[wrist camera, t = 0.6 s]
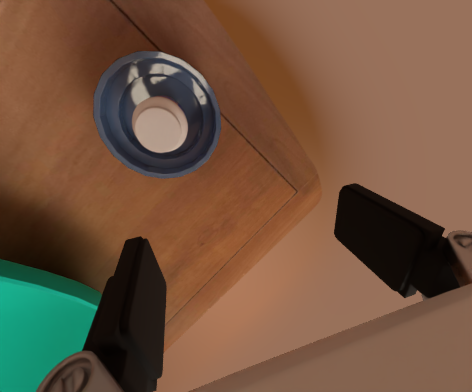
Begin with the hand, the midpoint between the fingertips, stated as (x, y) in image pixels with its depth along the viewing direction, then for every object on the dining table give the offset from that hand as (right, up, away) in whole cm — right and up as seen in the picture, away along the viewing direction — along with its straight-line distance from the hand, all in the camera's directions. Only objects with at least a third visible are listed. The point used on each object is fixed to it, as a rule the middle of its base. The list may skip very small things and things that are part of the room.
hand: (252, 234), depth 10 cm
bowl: (-10, +12, +17) cm, 24 cm away
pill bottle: (-10, +12, +17) cm, 23 cm away
